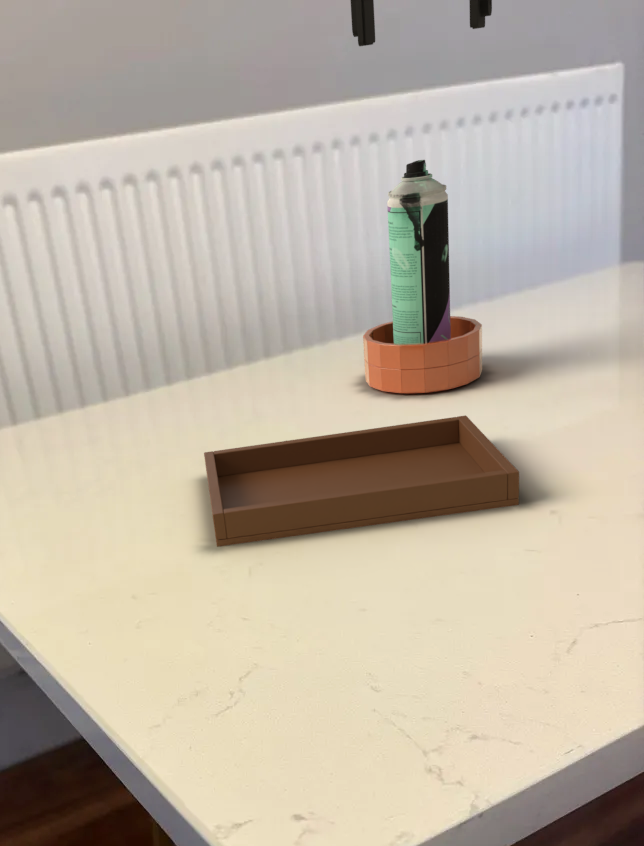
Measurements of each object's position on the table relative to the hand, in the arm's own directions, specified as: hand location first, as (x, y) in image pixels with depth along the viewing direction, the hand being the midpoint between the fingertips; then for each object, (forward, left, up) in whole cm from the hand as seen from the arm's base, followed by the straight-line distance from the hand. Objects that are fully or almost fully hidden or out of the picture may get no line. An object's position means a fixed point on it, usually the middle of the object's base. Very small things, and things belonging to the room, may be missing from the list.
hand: (421, 36), depth 89 cm
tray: (+13, +27, -30) cm, 42 cm away
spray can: (+1, 0, -30) cm, 30 cm away
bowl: (+1, 0, -30) cm, 30 cm away
